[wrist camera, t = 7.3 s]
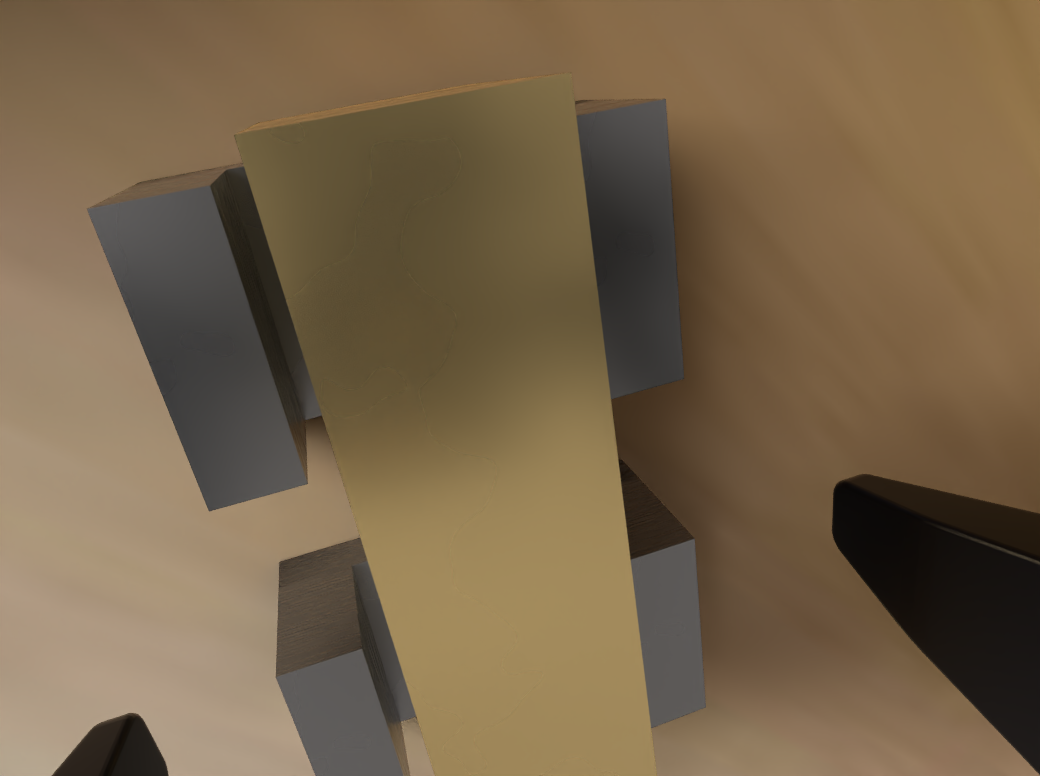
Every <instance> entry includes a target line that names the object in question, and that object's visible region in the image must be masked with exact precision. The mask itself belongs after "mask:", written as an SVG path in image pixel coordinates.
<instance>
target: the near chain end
mask: <svg viewBox="0 0 1040 776" xmlns="http://www.w3.org/2000/svg"><path fill="white" fill-rule="evenodd" d="M575 110H576V118H577V126H578V134H579V142H580V150H581V159H582V167H583V175H584V183H585V191H586V200H587V208H588V216H589V224H590V232H591V240H592V249H593V257H594V265H595V273H596V281H597V290H598V298H599V306H600V314H601V322H602V330H603V339H604V347H605V355H606V363H607V371H608V380H609V388H610V396H611V399H614V398H617V397H621V396H624V395H628V394H632V393H635V392H639V391H642V390H646V389H649V388H653V387H657V386H660V385H664V384H667V383H671V382H675V381H678V380H682V379H684V369H683V354H682V339H681V324H680V309H679V294H678V279H677V263H676V248H675V233H674V218H673V203H672V188H671V172H670V157H669V142H668V127H667V112H666V99H631V100H581V101H575ZM87 210H88V213H89V215H90V218H91V220H92V223H93V225H94V228H95V230H96V233H97V235H98V237H99V240H100V242H101V245H102V247H103V250H104V252H105V255H106V257H107V260H108V262H109V265H110V267H111V270H112V272H113V275H114V277H115V280H116V282H117V285H118V287H119V289H120V292H121V294H122V297H123V299H124V302H125V304H126V307H127V309H128V312H129V314H130V317H131V319H132V322H133V324H134V327H135V329H136V332H137V334H138V337H139V339H140V342H141V344H142V346H143V349H144V351H145V354H146V356H147V359H148V361H149V364H150V366H151V369H152V371H153V374H154V376H155V379H156V381H157V384H158V386H159V389H160V391H161V394H162V396H163V399H164V401H165V403H166V406H167V408H168V411H169V413H170V416H171V418H172V421H173V423H174V426H175V428H176V431H177V433H178V436H179V438H180V441H181V443H182V446H183V448H184V451H185V453H186V456H187V458H188V460H189V463H190V465H191V468H192V470H193V473H194V475H195V478H196V480H197V483H198V485H199V488H200V490H201V493H202V495H203V498H204V500H205V503H206V505H207V508H208V510H209V511H212V510H216V509H219V508H223V507H227V506H230V505H234V504H237V503H241V502H245V501H248V500H252V499H255V498H259V497H262V496H266V495H270V494H273V493H277V492H280V491H284V490H288V489H291V488H295V487H298V486H302V485H305V484H308V478H307V450H306V422H305V420H307V419H311V418H315V417H318V416H322V414H321V410H320V407H319V404H318V401H317V398H316V395H315V391H314V388H313V385H312V382H311V379H310V375H309V372H308V369H307V366H306V363H305V359H304V356H303V353H302V350H301V347H300V344H299V340H298V337H297V334H296V331H295V328H294V324H293V321H292V318H291V315H290V312H289V308H288V305H287V302H286V299H285V296H284V292H283V289H282V286H281V283H280V280H279V277H278V273H277V270H276V267H275V264H274V261H273V257H272V254H271V251H270V248H269V245H268V241H267V238H266V235H265V232H264V229H263V225H262V222H261V219H260V216H259V213H258V210H257V206H256V203H255V200H254V197H253V194H252V190H251V187H250V184H249V181H248V178H247V174H246V171H245V168H244V165H243V163H241V164H236V165H230V166H225V167H219V168H214V169H209V170H203V171H198V172H192V173H187V174H182V175H176V176H171V177H165V178H160V179H155V180H149V181H144V182H139V183H137V184H135V185H134V186H132V187H130V188H128V189H126V190H124V191H122V192H120V193H118V194H116V195H114V196H112V197H110V198H108V199H106V200H104V201H102V202H100V203H98V204H96V205H94V206H92V207H90V208H88V209H87Z"/></svg>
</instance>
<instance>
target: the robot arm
mask: <svg viewBox="0 0 1040 776" xmlns="http://www.w3.org/2000/svg"><path fill="white" fill-rule="evenodd" d="M832 533H833V538H834V541H835V543H836V545H837V547H838V549H839V550H840V551H841V553H842V554H843V555H844V557H845V558H846V559H847V560H848V562H849V563H850V564H851V565H852V567H853V568H854V569H855V570H856V572H857V573H858V574H859V575H860V577H861V578H862V579H863V581H864V582H865V583H866V584H867V586H868V587H869V588H870V589H871V591H872V592H873V593H874V594H875V596H876V597H877V598H878V599H879V601H880V602H881V603H882V605H883V606H884V607H885V608H886V610H887V611H888V612H889V613H890V615H891V616H892V617H893V618H894V620H895V621H896V622H897V624H898V625H899V626H900V627H901V628H902V629H903V631H904V632H905V633H906V634H907V635H908V637H909V638H910V639H911V640H912V641H913V642H914V643H915V644H916V646H917V647H918V648H919V649H920V650H921V651H922V652H923V653H924V654H925V655H926V656H927V657H928V658H929V659H930V661H931V662H932V663H933V664H934V665H935V666H936V667H937V668H938V669H939V670H940V671H941V672H942V673H943V674H944V675H945V676H946V677H947V678H948V679H949V680H950V681H951V682H952V684H953V685H954V686H955V687H956V688H957V689H958V690H959V691H960V692H961V693H962V694H963V695H964V696H965V697H966V698H967V699H968V700H969V701H970V702H971V703H972V704H973V705H974V707H975V708H976V709H977V710H978V711H979V712H980V713H981V714H982V715H983V716H984V717H985V718H986V719H987V720H988V721H989V722H990V723H991V724H992V725H993V726H994V727H995V728H996V730H997V731H998V732H999V733H1000V734H1001V735H1002V736H1003V737H1004V738H1005V739H1006V740H1007V741H1008V742H1009V743H1010V744H1011V745H1012V746H1013V747H1014V748H1015V749H1016V750H1017V751H1018V753H1019V754H1020V755H1021V756H1022V757H1023V758H1024V759H1025V760H1026V761H1027V762H1028V763H1029V764H1030V765H1031V766H1032V767H1033V768H1034V769H1035V770H1036V771H1037V772H1038V773H1039V774H1040V514H1039V513H1034V512H1030V511H1026V510H1021V509H1017V508H1013V507H1008V506H1004V505H1000V504H995V503H991V502H987V501H982V500H978V499H973V498H969V497H965V496H960V495H956V494H952V493H947V492H943V491H939V490H934V489H930V488H926V487H921V486H917V485H912V484H908V483H904V482H899V481H895V480H891V479H886V478H882V477H878V476H873V475H869V474H861V475H857V476H854V477H851V478H848V479H845V480H842V481H840V482H838V483H837V484H836V486H835V488H834V492H833V518H832ZM52 776H168V770H167V766H166V763H165V760H164V758H163V756H162V754H161V752H160V750H159V749H158V747H157V745H156V743H155V741H154V739H153V737H152V735H151V733H150V731H149V729H148V728H147V726H146V724H145V722H144V720H143V719H142V718H141V717H140V716H139V715H138V714H136V713H128V714H125V715H122V716H119V717H116V718H113V719H110V720H107V721H104V722H101V723H99V724H97V725H96V726H94V727H93V728H92V729H91V730H90V731H89V732H88V734H87V735H86V736H85V737H84V738H83V739H82V741H81V742H80V743H79V744H78V745H77V747H76V748H75V749H74V750H73V751H72V752H71V754H70V755H69V756H68V757H67V758H66V759H65V761H64V762H63V763H62V764H61V765H60V767H59V768H58V769H57V770H56V771H55V772H54V774H53V775H52Z"/></svg>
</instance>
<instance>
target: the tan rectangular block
mask: <svg viewBox="0 0 1040 776" xmlns="http://www.w3.org/2000/svg"><path fill="white" fill-rule="evenodd" d="M234 136H235V139H236V143H237V146H238V149H239V152H240V155H241V159H242V162H243V165H244V168H245V171H246V174H247V178H248V181H249V184H250V187H251V190H252V194H253V197H254V200H255V203H256V206H257V210H258V213H259V216H260V219H261V222H262V225H263V229H264V232H265V235H266V238H267V241H268V245H269V248H270V251H271V254H272V257H273V261H274V264H275V267H276V270H277V273H278V277H279V280H280V283H281V286H282V289H283V292H284V296H285V299H286V302H287V305H288V308H289V312H290V315H291V318H292V321H293V324H294V328H295V331H296V334H297V337H298V340H299V344H300V347H301V350H302V353H303V356H304V359H305V363H306V366H307V369H308V372H309V375H310V379H311V382H312V385H313V388H314V391H315V395H316V398H317V401H318V404H319V407H320V410H321V414H322V417H323V420H324V423H325V426H326V430H327V433H328V436H329V439H330V442H331V446H332V449H333V452H334V455H335V458H336V462H337V465H338V468H339V471H340V474H341V477H342V481H343V484H344V487H345V490H346V493H347V497H348V500H349V503H350V506H351V509H352V513H353V516H354V519H355V522H356V525H357V529H358V532H359V535H360V538H361V541H362V544H363V548H364V551H365V554H366V557H367V560H368V564H369V567H370V570H371V573H372V576H373V580H374V583H375V586H376V589H377V592H378V595H379V599H380V602H381V605H382V608H383V611H384V615H385V618H386V621H387V624H388V627H389V631H390V634H391V637H392V640H393V643H394V647H395V650H396V653H397V656H398V659H399V662H400V666H401V669H402V672H403V675H404V678H405V682H406V685H407V688H408V691H409V694H410V698H411V701H412V704H413V707H414V710H415V714H416V717H417V720H418V723H419V726H420V729H421V733H422V736H423V739H424V742H425V745H426V749H427V752H428V755H429V758H430V761H431V765H432V768H433V771H434V774H435V776H657V772H656V764H655V756H654V748H653V740H652V731H651V723H650V715H649V707H648V699H647V690H646V682H645V674H644V666H643V658H642V650H641V641H640V633H639V625H638V617H637V609H636V600H635V592H634V584H633V576H632V568H631V560H630V551H629V543H628V535H627V527H626V519H625V510H624V502H623V494H622V486H621V478H620V470H619V461H618V453H617V445H616V437H615V429H614V420H613V412H612V404H611V396H610V388H609V380H608V371H607V363H606V355H605V347H604V339H603V330H602V322H601V314H600V306H599V298H598V290H597V281H596V273H595V265H594V257H593V249H592V240H591V232H590V224H589V216H588V208H587V200H586V191H585V183H584V175H583V167H582V159H581V150H580V142H579V134H578V126H577V118H576V110H575V101H574V93H573V85H572V77H571V72H570V73H562V74H553V75H545V76H536V77H527V78H519V79H510V80H502V81H493V82H485V83H476V84H468V85H461V86H456V87H450V88H445V89H439V90H434V91H428V92H423V93H418V94H412V95H407V96H401V97H396V98H390V99H385V100H379V101H374V102H368V103H363V104H357V105H352V106H347V107H341V108H336V109H330V110H325V111H319V112H314V113H308V114H303V115H297V116H292V117H287V118H281V119H276V120H270V121H265V122H259V123H257V124H255V125H253V126H251V127H249V128H247V129H245V130H243V131H241V132H239V133H237V134H235V135H234Z"/></svg>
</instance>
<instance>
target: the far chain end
mask: <svg viewBox="0 0 1040 776" xmlns="http://www.w3.org/2000/svg"><path fill="white" fill-rule="evenodd" d="M619 470H620V478H621V486H622V494H623V502H624V510H625V519H626V527H627V535H628V543H629V551H630V560H631V568H632V576H633V584H634V592H635V600H636V609H637V617H638V625H639V633H640V641H641V650H642V658H643V666H644V674H645V682H646V690H647V699H648V707H649V715H650V723H651V728H653V727H656V726H658V725H661V724H663V723H666V722H669V721H671V720H674V719H676V718H679V717H682V716H684V715H687V714H689V713H692V712H695V711H697V710H700V709H702V708H705V707H706V703H705V688H704V672H703V657H702V642H701V627H700V612H699V597H698V582H697V566H696V551H695V539H694V537H693V536H692V535H691V534H690V533H689V532H688V531H687V530H686V529H685V528H684V527H683V526H682V524H681V523H680V522H679V521H678V520H677V519H676V518H675V517H674V516H673V515H672V514H671V513H670V511H669V510H668V509H667V508H666V507H665V506H664V505H663V504H662V503H661V502H660V501H659V500H658V498H657V497H656V496H655V495H654V494H653V493H652V492H651V491H650V490H649V489H648V488H647V487H646V485H645V484H644V483H643V482H642V481H641V480H640V479H639V478H638V477H637V476H636V475H635V474H634V472H633V471H632V470H631V469H630V468H629V467H628V466H627V465H626V464H625V463H624V462H623V461H622V460H620V461H619ZM276 679H277V681H278V683H279V686H280V688H281V691H282V693H283V696H284V698H285V701H286V703H287V706H288V708H289V711H290V713H291V716H292V718H293V721H294V723H295V726H296V728H297V731H298V733H299V736H300V738H301V740H302V743H303V745H304V748H305V750H306V753H307V755H308V758H309V760H310V763H311V765H312V768H313V770H314V773H315V775H316V776H410V772H409V766H408V760H407V754H406V749H405V743H404V737H403V731H402V726H401V721H404V720H407V719H410V718H412V717H415V716H416V714H415V710H414V707H413V704H412V701H411V698H410V694H409V691H408V688H407V685H406V682H405V678H404V675H403V672H402V669H401V666H400V662H399V659H398V656H397V653H396V650H395V647H394V643H393V640H392V637H391V634H390V631H389V627H388V624H387V621H386V618H385V615H384V611H383V608H382V605H381V602H380V599H379V595H378V592H377V589H376V586H375V583H374V580H373V576H372V573H371V570H370V567H369V564H368V560H367V557H366V554H365V551H364V548H363V544H362V541H361V538H358V539H355V540H352V541H348V542H345V543H342V544H338V545H335V546H332V547H328V548H325V549H322V550H318V551H315V552H312V553H308V554H305V555H302V556H298V557H295V558H291V559H288V560H285V561H281V562H280V565H279V596H278V628H277V659H276Z"/></svg>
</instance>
